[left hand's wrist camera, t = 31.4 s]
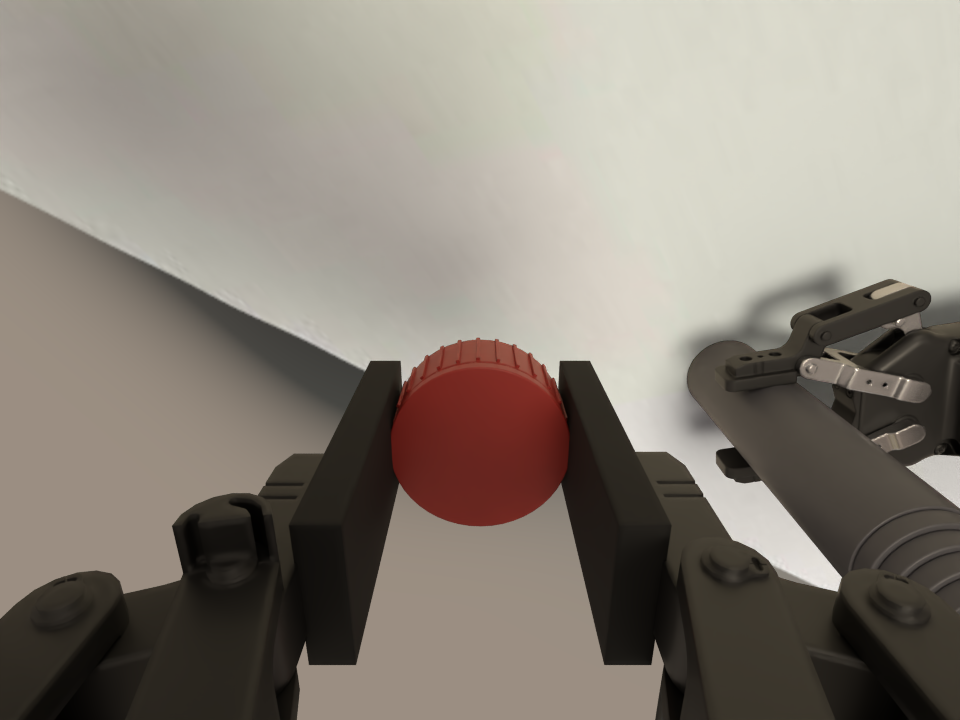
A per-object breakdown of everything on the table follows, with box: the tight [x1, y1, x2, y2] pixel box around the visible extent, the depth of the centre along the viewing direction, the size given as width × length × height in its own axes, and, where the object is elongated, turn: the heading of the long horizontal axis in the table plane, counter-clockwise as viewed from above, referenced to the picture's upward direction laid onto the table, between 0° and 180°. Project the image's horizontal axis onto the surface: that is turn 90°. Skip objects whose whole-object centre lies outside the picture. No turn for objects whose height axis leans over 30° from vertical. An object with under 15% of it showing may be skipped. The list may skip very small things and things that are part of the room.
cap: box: [391, 338, 570, 526], centre depth 14 cm, size 4×4×2 cm
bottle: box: [687, 341, 960, 615], centre depth 27 cm, size 5×5×24 cm
